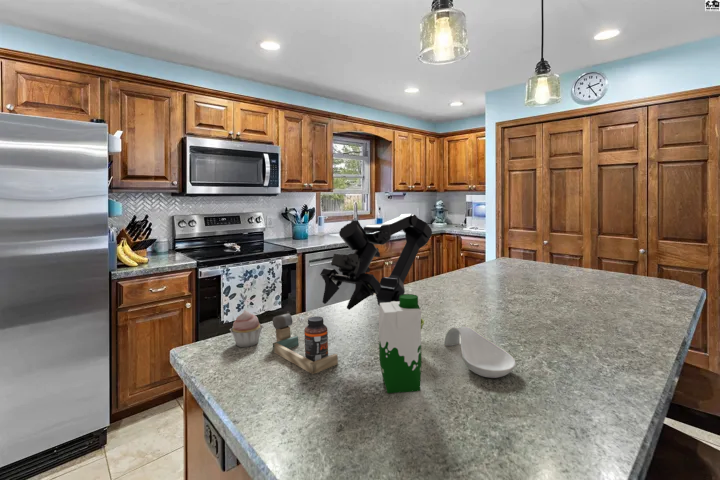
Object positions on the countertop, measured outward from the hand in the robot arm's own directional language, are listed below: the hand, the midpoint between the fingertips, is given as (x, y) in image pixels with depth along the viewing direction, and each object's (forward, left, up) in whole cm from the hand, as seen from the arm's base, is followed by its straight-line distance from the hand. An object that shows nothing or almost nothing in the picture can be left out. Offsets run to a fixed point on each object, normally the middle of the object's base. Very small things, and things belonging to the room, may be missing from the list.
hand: (335, 305), depth 100 cm
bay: (+8, +5, -13) cm, 16 cm away
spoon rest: (-36, +3, -13) cm, 38 cm away
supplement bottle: (+4, +6, -13) cm, 15 cm away
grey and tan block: (+17, -4, -13) cm, 22 cm away
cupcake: (+28, -4, -13) cm, 31 cm away
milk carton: (-18, +16, -13) cm, 28 cm away
